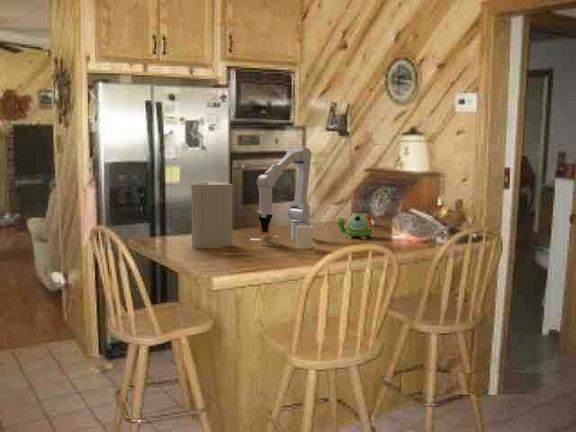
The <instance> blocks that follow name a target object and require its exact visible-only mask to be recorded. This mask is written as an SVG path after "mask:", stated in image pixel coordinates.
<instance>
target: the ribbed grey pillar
mask: <svg viewBox="0 0 576 432" xmlns="http://www.w3.org/2000/svg"><path fill="white" fill-rule="evenodd" d="M190 192H191V201H190V202H191V247H192V248H195V249H196V248H197V249H198V248H199V249H200V248H201V249H222V248H223V247H231V246H233V184H231V183H225V182H218V181H198V182H195V183H194V182H193V183H191V191H190Z"/></svg>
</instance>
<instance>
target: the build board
mask: <svg viewBox="0 0 576 432" xmlns="http://www.w3.org/2000/svg"><path fill="white" fill-rule="evenodd" d="M249 241H260V238H255V237H254V238H252V237H251V238H250V239H249ZM265 246H270V247H276V246H275V245H265ZM279 246H280V244H279V245H278V246H277V247H279Z"/></svg>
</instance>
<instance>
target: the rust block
mask: <svg viewBox="0 0 576 432" xmlns="http://www.w3.org/2000/svg"><path fill="white" fill-rule="evenodd" d="M258 224H259V228H258V235H259V236H271V222H270V223H269V225H268V231H267V232H262V228H261V223H260V222H259V223H258Z"/></svg>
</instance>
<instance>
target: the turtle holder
mask: <svg viewBox="0 0 576 432" xmlns="http://www.w3.org/2000/svg"><path fill="white" fill-rule="evenodd" d="M345 222H346V221H345V218H343V217H338V218H337V221H336V223H337V225H338V229H339V231H340V232H341V233H342V234H345V235H347V236H348V237H347V238H348V239H351V240H352V239H353V237H357V236H359V238H360V240H367V238H372V237H373V236H372V235H373V234H374V233H373V229H374V227H373V226H374V225H373V222H372V218H370V216H369V215H368V214H367V213H363V212H362V213H361V212H359V213H358V212H355V213H352V215H350V216H349V218H347V222H346V223H345ZM345 224H346V225H345ZM344 225H345V226H344ZM352 236H353V237H352ZM365 236H366V237H365Z"/></svg>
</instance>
